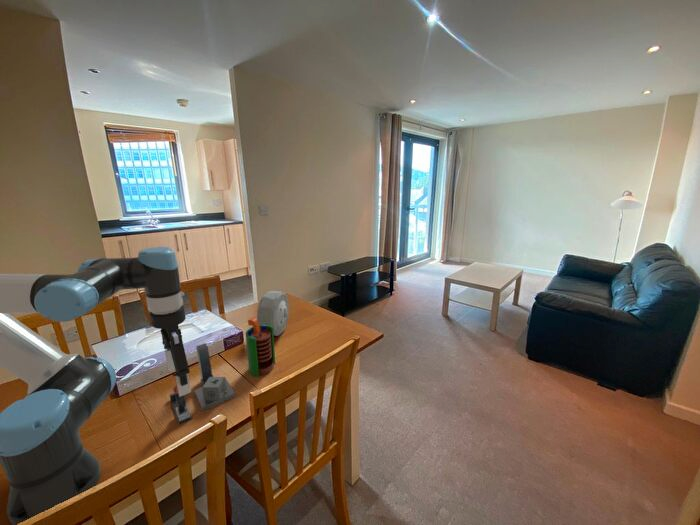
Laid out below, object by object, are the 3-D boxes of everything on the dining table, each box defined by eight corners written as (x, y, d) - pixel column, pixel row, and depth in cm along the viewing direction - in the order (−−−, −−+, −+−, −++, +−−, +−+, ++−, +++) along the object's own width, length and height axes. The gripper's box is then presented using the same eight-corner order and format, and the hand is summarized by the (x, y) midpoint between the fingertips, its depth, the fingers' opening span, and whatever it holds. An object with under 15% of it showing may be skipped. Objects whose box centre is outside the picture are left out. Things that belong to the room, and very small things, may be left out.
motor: (266, 378, 106) (261, 328, 101) (243, 375, 108) (237, 325, 102) (278, 361, 116) (274, 315, 110) (257, 358, 117) (252, 313, 112)
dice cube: (220, 400, 93) (218, 387, 92) (204, 400, 93) (202, 387, 92) (226, 389, 98) (224, 376, 97) (211, 389, 98) (209, 376, 97)
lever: (179, 421, 86) (173, 390, 83) (176, 413, 89) (170, 383, 86) (190, 416, 88) (185, 385, 85) (187, 409, 91) (182, 378, 88)
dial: (280, 345, 127) (276, 302, 121) (254, 343, 129) (250, 300, 123) (295, 323, 146) (293, 285, 141) (273, 321, 148) (270, 284, 143)
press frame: (178, 424, 86) (170, 384, 82) (168, 394, 98) (161, 357, 95) (236, 398, 96) (231, 361, 93) (220, 373, 109) (215, 339, 105)
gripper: (196, 321, 68) (207, 399, 74) (173, 291, 86) (183, 355, 92) (158, 331, 63) (173, 414, 69) (142, 297, 81) (155, 365, 87)
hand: (179, 380), depth 80 cm, fingers open, 12 cm apart
